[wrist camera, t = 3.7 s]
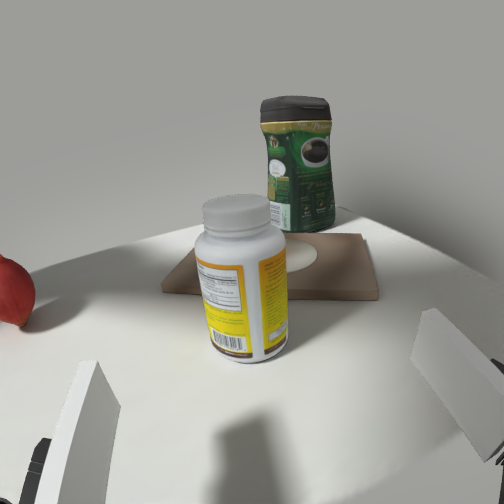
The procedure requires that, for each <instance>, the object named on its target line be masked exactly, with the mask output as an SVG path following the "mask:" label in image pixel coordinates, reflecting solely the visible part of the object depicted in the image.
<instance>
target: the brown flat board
mask: <svg viewBox="0 0 504 504" xmlns="http://www.w3.org/2000/svg"><path fill="white" fill-rule="evenodd" d="M283 234H284V236H285V244H286V271H287V298H288V299H313V300H378V292H379V289H378V286H377V282H376V279H375V276H374V272H373V269H372V266H371V263H370V259H369V256H368V253H367V250H366V247H365V244H364V241H363V238H362V235H361V234H351V233H283ZM161 285H162V290H163V292H169V293H183V294H198V295H202V291H201V285H200V279H199V274H198V268H197V262H196V256H195V248H193V249H192V250H191V251H190V252H189V253H188V255H187V256H186V257H185V258H184V259H183V260H182V261H181V262H180V263H179V264H178V265H177V266H176V267H175V268H174V269H173V271H172V272H171V273H170V274H169V275H168V276H167V277H166V278H165V279H164V280H163V281H162V283H161Z"/></svg>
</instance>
